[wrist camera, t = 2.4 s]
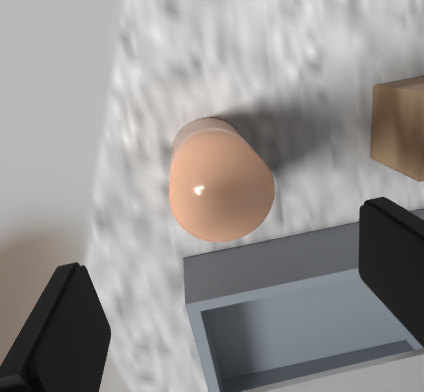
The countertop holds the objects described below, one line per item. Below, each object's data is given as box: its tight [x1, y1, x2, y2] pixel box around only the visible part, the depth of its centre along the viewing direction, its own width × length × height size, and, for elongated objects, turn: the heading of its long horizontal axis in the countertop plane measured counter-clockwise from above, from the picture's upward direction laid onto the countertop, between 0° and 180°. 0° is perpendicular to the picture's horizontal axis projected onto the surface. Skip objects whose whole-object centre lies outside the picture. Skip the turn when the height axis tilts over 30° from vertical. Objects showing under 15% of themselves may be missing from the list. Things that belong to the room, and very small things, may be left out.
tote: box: [183, 209, 424, 392], centre depth 25 cm, size 20×15×5 cm
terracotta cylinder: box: [169, 118, 274, 242], centre depth 18 cm, size 5×5×7 cm
